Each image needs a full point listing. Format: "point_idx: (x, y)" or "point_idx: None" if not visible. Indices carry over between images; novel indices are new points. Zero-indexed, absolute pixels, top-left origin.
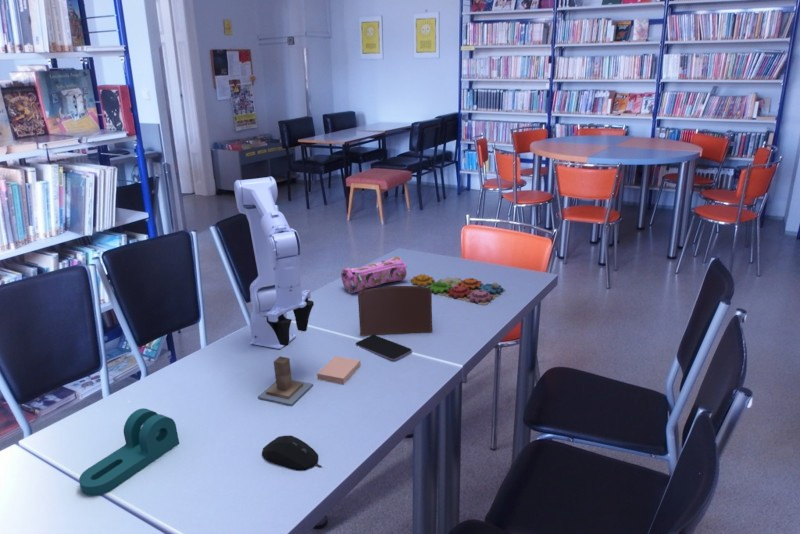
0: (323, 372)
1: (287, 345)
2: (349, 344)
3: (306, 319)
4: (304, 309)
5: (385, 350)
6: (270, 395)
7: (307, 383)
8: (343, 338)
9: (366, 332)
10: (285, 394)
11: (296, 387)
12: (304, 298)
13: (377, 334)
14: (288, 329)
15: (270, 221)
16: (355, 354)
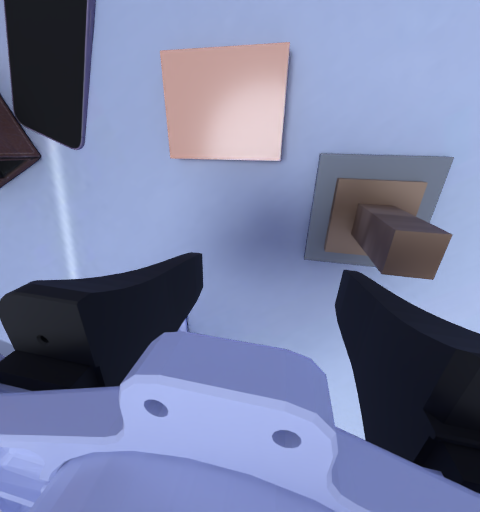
0: (269, 142)
1: (355, 271)
2: (89, 166)
3: (168, 271)
4: (128, 319)
5: (58, 11)
6: None
7: (322, 171)
8: (75, 197)
9: (19, 139)
10: (416, 197)
11: (370, 184)
12: (25, 435)
13: (6, 108)
14: (406, 312)
15: None
16: (122, 118)
